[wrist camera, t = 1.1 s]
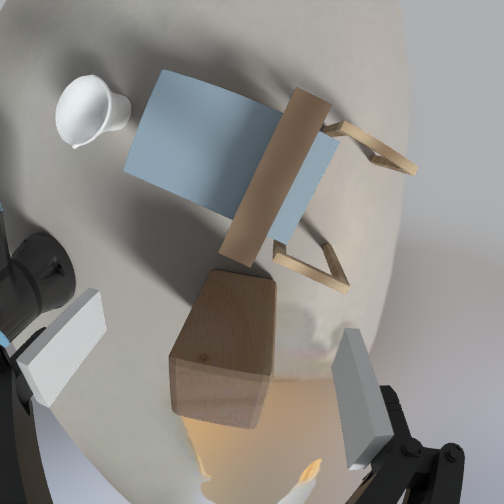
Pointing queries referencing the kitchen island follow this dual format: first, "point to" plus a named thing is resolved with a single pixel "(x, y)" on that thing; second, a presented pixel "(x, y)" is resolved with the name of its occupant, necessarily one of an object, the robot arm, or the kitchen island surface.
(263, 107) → the lid
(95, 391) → the kitchen island surface
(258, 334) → the wooden block
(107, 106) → the cup
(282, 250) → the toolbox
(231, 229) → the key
